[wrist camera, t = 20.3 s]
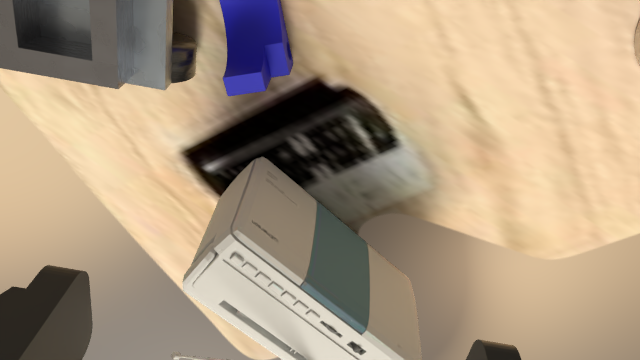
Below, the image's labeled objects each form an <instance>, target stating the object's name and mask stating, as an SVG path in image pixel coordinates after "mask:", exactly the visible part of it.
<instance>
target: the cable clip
mask: <svg viewBox="0 0 640 360" xmlns="http://www.w3.org/2000/svg"><path fill="white" fill-rule="evenodd" d="M220 4H221V8H222V12H223V17H224V23H225V29H226V37H227V66H226V71H225V74H224V76H223V81H224V84H225V88H226V91H227V95H228V96H234V95H241V94H247V93H254V92H261V91H266V89H267V86H268V84H269V82H270V79H271V77H278V76H285V75H290V72H291V69H292V66H293V60H292V55H291V50H290V45H289V41H288V36H287V31H286V26H285V21H284V16H283V12H282V7H281V2H280V0H220Z"/></svg>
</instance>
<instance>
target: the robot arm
mask: <svg viewBox="0 0 640 360" xmlns="http://www.w3.org/2000/svg"><path fill="white" fill-rule="evenodd" d="M634 48H635V56H636V58H637V61H638V64H639V65H640V21H639V23H638V26H637V29H636V33H635V40H634ZM91 333H92V311H91V299H90V285H89V276H88V274H87V272H85V271H80V270H74V269H68V268H62V267H56V266H50V265H48V266H45V267H44V268H43V269H42V270H41V271H40V272H39V273H38V274H37V276H36V277H35V278H34V280H33V281H32V282H31V283H30V284H29V286H28V287H27V288H26V289H25V288H19V287H11V288H10V289H8V290H7V291H5V292H4V293H2V294H0V360H82V358H83V357H84V354H85V352H86V350H87V347H88V345H89V342H90V338H91ZM466 360H521V358H520V355H519V352H518V350H517V348H516V347H515V346H513V345H507V344H501V343H495V342H489V341H483V340H476V341H475V342H474V344H473V345H472V347H471V350H470V352H469V355H468V356H467V359H466Z"/></svg>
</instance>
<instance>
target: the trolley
mask: <svg viewBox="0 0 640 360" xmlns="http://www.w3.org/2000/svg"><path fill="white" fill-rule="evenodd" d="M172 27H173V0H0V68H3V69H9V70H14V71H20V72H26V73H31V74H37V75H42V76H48V77H54V78H59V79H65V80H70V81H76V82H81V83H87V84H93V85H98V86H104V87H109V88H115V89H119V88H120V87H121V86H122V85H123V84H125V83H128V84H133V85H139V86H144V87H150V88H156V89H161V90H166V89H167V87H168V86H169V85H170V84H171V83H178V82H183V81H187V80H189V79H191V78H193V77H194V76H195V72H196V50H197V44H196V42H195V41H194V40H193V39H191V38H190V37H187V36H185V35H182V34H178V33H174V32H172Z"/></svg>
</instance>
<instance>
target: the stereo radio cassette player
mask: <svg viewBox="0 0 640 360" xmlns="http://www.w3.org/2000/svg"><path fill="white" fill-rule="evenodd" d="M183 291H184V292H186V293H187V294H188V295H190V296H191V297H193V298H194V299H196V300H197V301H198V302H200V303H201V304H203V305H204V306H206V307H207V308H209V309H210V310H211V311H213V312H214V313H216V314H217V315H219V316H220V317H221V318H223V319H224V320H226V321H227V322H229V323H230V324H232V325H233V326H234V327H236V328H237V329H239V330H240V331H242V332H243V333H244V334H246V335H247V336H249V337H250V338H252V339H253V340H255V341H256V342H257V343H259V344H260V345H262V346H263V347H265V348H266V349H268V350H269V351H270V352H272V353H273V354H275V355H276V356H278V357H279V358H281V359H282V360H422V356H421V344H420V334H419V324H418V316H417V309H416V303H415V298H414V294H413V290H412V286H411V282H410V279H409V278H408V277H407V276H406V275H404V274H403V273H402V272H401V271H399V270H398V269H397V268H396V267H395V266H394V265H392V264H391V263H390V262H389V261H388V260H387V259H385V258H384V257H383V256H382V255H381V254H379V253H378V252H377V251H376V250H374V249H373V248H372V247H371V246H370V245H368V244H367V243H366V242H365V241H364V240H363V239H362V238H361V237H359V236H358V235H357V234H356V233H355V232H353V231H352V230H351V229H350V228H349V227H348V226H346V225H345V224H344V223H343V222H342V221H340V220H339V219H338V218H337V217H336V216H334V215H333V214H332V213H331V212H330V211H328V210H327V209H326V208H325V207H324V206H323V205H321V204H320V203H319V202H318V201H317V200H315V199H314V198H313V197H312V196H311V195H309V194H308V193H307V192H306V191H305V190H303V189H302V188H301V187H300V186H299V185H298V184H296V183H295V182H294V181H293V180H292V179H290V178H289V177H288V176H287V175H286V174H284V173H283V172H282V171H281V170H280V169H279V168H277V167H276V166H275V165H274V164H272V163H271V162H270V161H269V160H267V159H266V158H264V157H260V158H256V159H254V160H253V161H252V162H251V163H250V164H249V165H248V166H247V167H246V168H245V169H244V170H243V171H242V172H241V173H240V174H239V175H238V176H237V177H236V178H235V179H234V181H233V182H232V183H231V184H230V185H229V187H228V188H227V189H226V191H225V192H224V193H223V195H222V196H221V197H220V199H219V201H218V204H217V206H216V208H215V211H214V213H213V215H212V218H211V220H210V222H209V225H208V227H207V229H206V232H205V234H204V236H203V239H202V241H201V243H200V246H199V248H198V250H197V253H196V255H195V257H194V260H193V262H192V265H191V267H190V268H189V269H188V270H187V272H186V273H185V275H184V279H183ZM180 357H181V358H189V359H193V360H223V359H215V358H204V357H196V356H193V357H191V356H183V355H181V354H180V353H178V352H173V353H172V359H180Z"/></svg>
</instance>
